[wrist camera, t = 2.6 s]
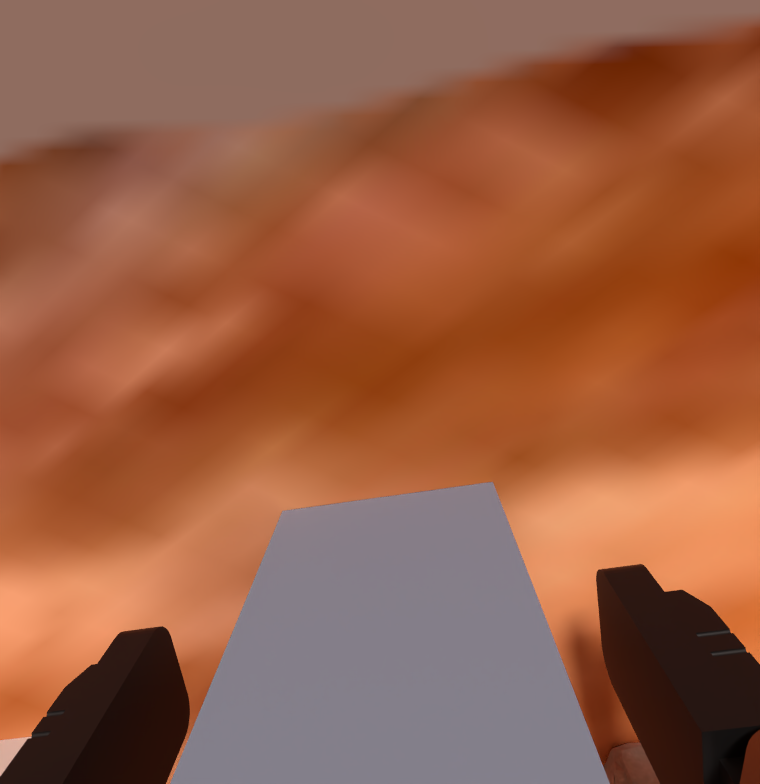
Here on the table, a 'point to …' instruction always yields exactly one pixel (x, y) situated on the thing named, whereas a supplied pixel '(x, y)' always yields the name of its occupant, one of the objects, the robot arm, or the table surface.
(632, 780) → the brick
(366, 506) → the tile
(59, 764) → the robot arm
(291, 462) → the table surface
